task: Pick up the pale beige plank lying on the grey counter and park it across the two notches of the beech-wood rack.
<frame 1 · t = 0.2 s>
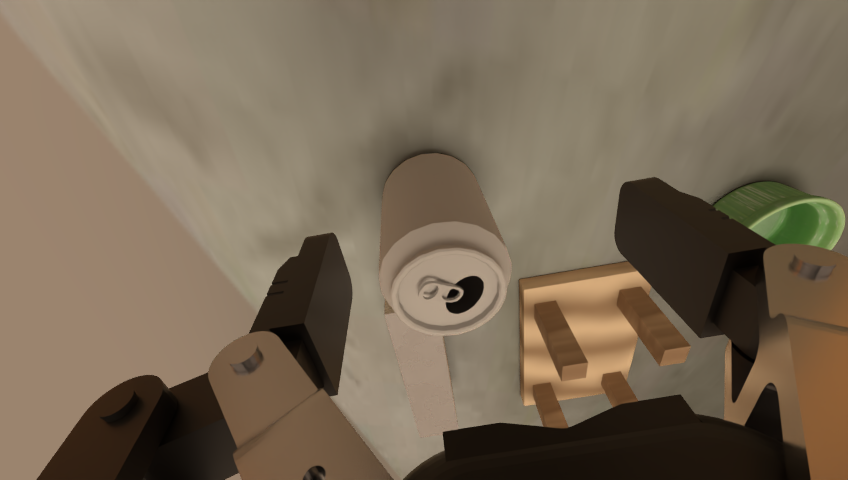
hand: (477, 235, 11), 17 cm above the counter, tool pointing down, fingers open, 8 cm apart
pale beige plank: (422, 326, 38), on the counter
can: (429, 193, 29), on the counter
rack: (574, 335, 40), on the counter
ramekin: (738, 219, 33), on the counter
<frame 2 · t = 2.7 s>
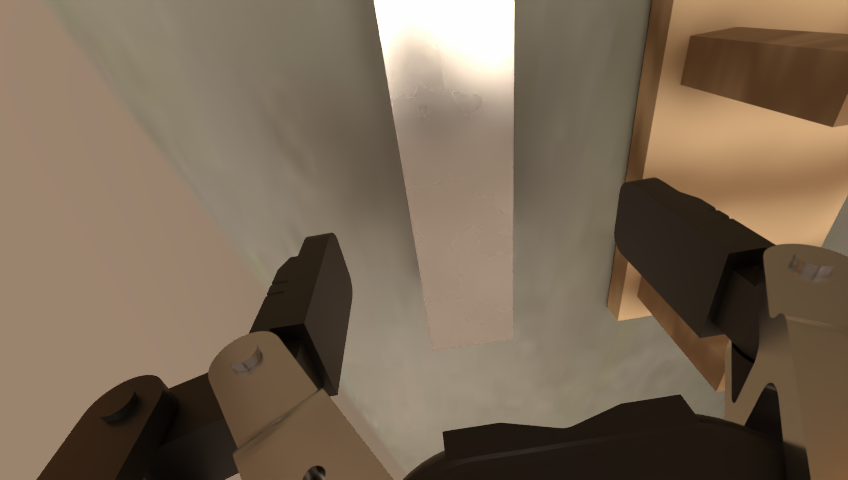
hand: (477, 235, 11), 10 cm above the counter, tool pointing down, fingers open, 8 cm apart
pale beige plank: (440, 127, 19), on the counter
rack: (730, 166, 21), on the counter
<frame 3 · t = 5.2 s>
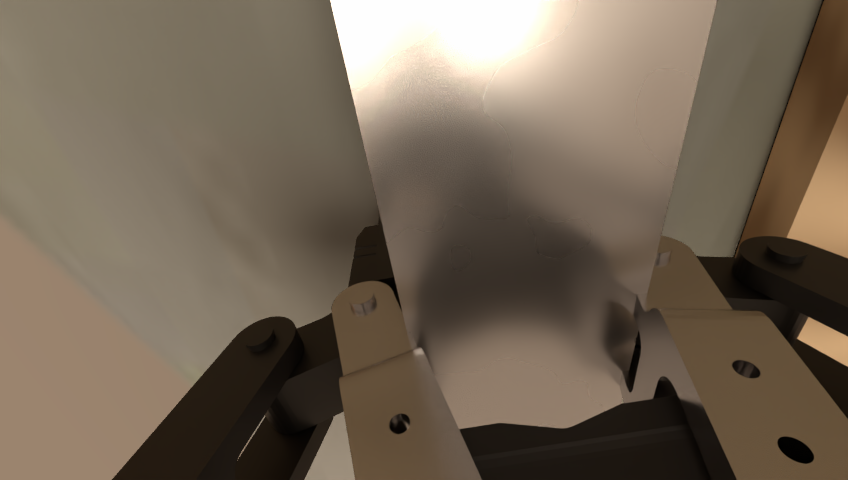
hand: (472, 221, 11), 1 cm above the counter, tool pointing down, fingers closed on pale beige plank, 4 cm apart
pale beige plank: (467, 202, 12), on the counter, touching gripper
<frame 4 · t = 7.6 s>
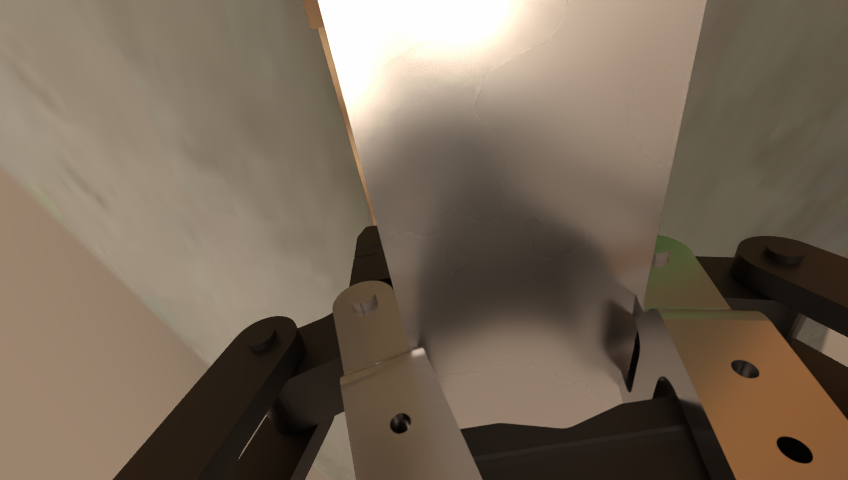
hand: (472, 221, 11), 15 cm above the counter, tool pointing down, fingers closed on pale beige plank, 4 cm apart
pale beige plank: (466, 203, 12), point 14 cm above the counter, touching gripper
rack: (437, 103, 24), on the counter
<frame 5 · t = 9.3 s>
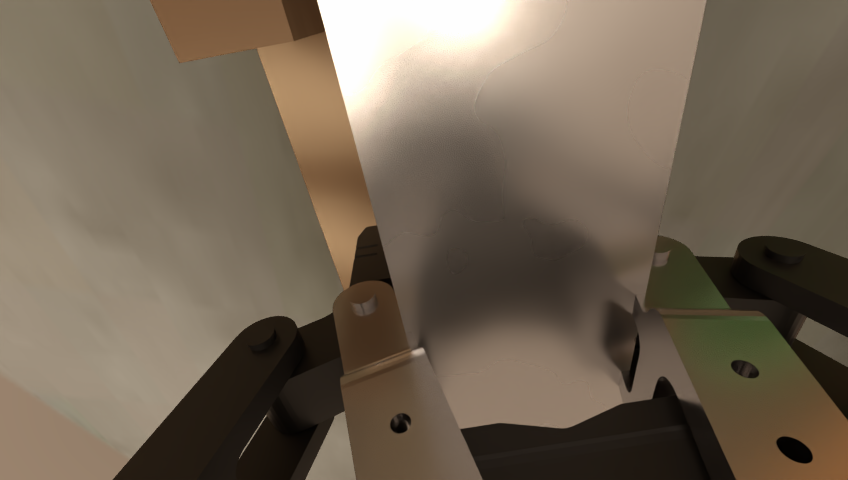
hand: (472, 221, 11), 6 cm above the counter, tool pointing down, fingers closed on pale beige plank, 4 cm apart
pale beige plank: (467, 203, 12), point 5 cm above the counter, touching gripper
rack: (448, 154, 16), on the counter
when the fingers open (4 cm above the counter, at t = 10.5 s): pale beige plank drops 1 cm, resting on rack.
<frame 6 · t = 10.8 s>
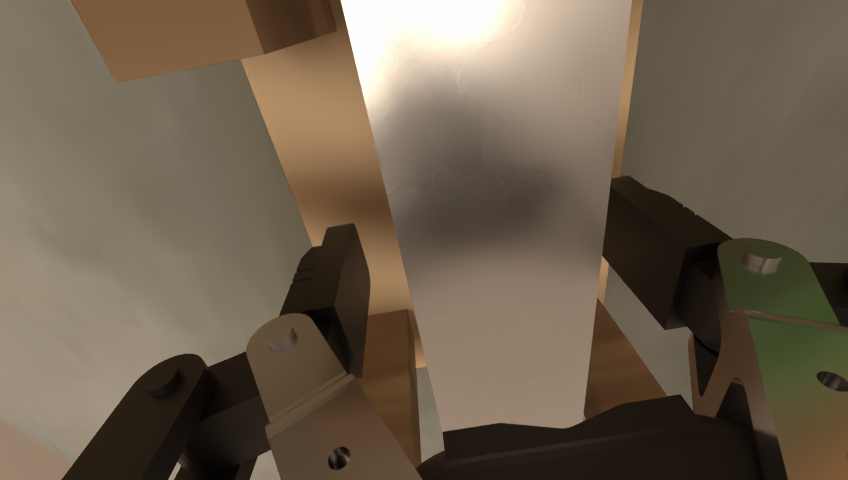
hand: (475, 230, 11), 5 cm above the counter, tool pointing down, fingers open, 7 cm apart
pale beige plank: (461, 183, 14), point 1 cm above the counter, touching rack
rack: (453, 170, 15), on the counter
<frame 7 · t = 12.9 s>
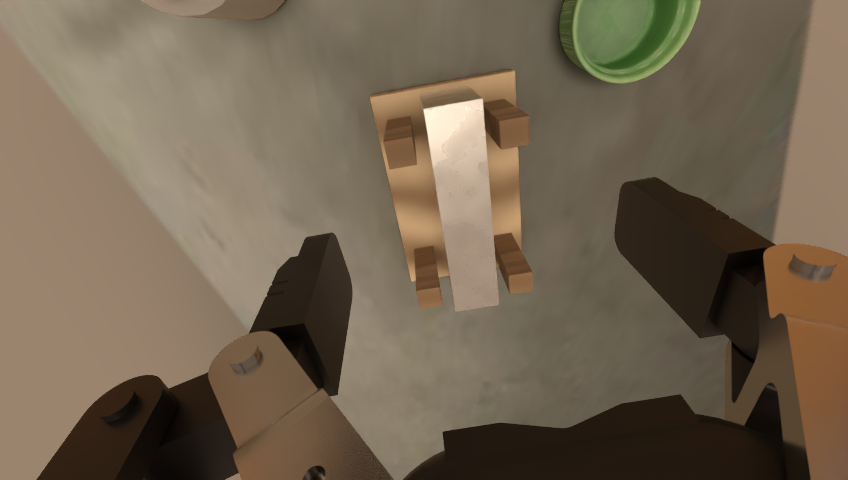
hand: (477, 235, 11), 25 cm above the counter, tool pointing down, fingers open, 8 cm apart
pale beige plank: (456, 190, 35), point 1 cm above the counter, touching rack
rack: (454, 185, 36), on the counter
ramekin: (605, 17, 30), on the counter
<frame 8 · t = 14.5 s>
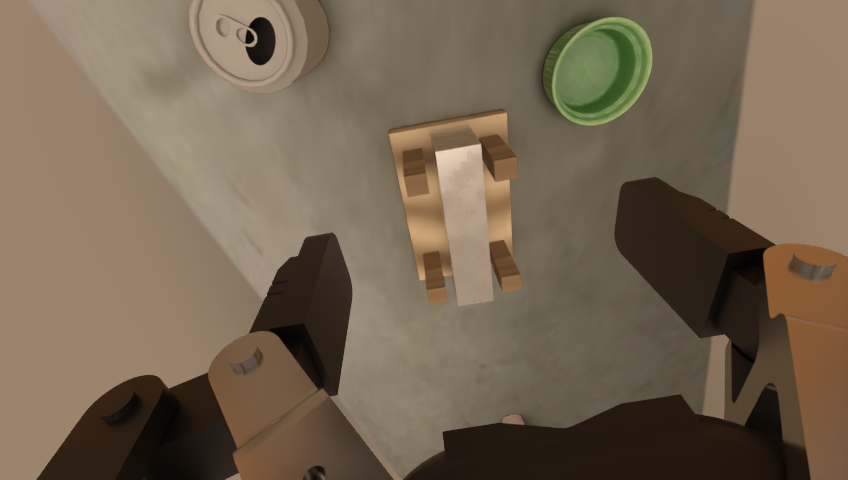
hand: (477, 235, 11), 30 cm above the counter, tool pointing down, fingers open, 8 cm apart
pale beige plank: (458, 206, 42), point 1 cm above the counter, touching rack
can: (288, 28, 33), on the counter
rack: (456, 201, 43), on the counter
smoothie: (511, 419, 68), on the counter
ramekin: (580, 68, 37), on the counter
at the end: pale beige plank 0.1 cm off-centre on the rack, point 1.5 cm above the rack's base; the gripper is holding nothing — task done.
